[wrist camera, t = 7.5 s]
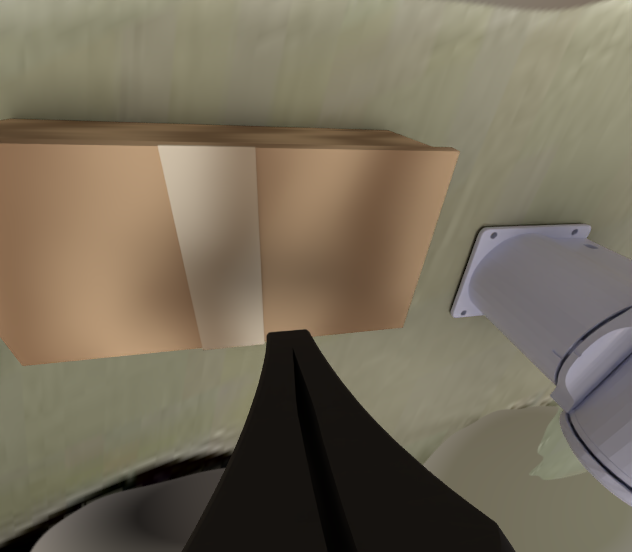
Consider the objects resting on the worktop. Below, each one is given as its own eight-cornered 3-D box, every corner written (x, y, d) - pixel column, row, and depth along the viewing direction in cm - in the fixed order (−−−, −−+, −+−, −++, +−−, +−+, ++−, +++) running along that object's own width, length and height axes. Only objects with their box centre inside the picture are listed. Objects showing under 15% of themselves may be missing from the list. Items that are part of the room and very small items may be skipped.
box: (387, 130, 17) (433, 147, 13) (365, 268, 22) (394, 312, 18) (10, 118, 14) (-88, 136, 10) (80, 285, 19) (35, 345, 15)
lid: (452, 146, 12) (462, 150, 12) (398, 320, 18) (403, 329, 17) (-132, 133, 9) (-158, 139, 8) (30, 356, 14) (21, 368, 14)
